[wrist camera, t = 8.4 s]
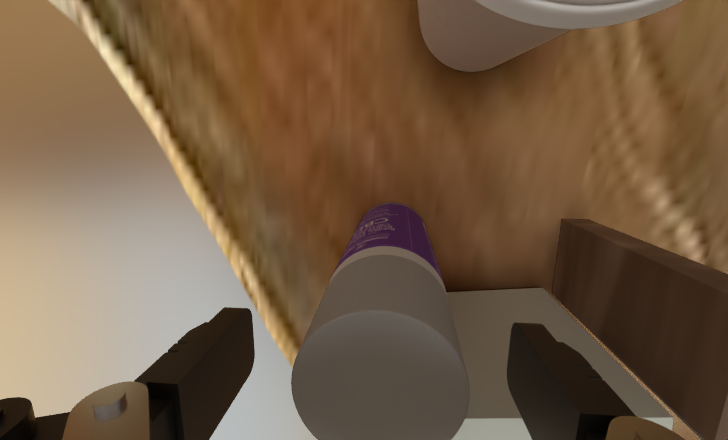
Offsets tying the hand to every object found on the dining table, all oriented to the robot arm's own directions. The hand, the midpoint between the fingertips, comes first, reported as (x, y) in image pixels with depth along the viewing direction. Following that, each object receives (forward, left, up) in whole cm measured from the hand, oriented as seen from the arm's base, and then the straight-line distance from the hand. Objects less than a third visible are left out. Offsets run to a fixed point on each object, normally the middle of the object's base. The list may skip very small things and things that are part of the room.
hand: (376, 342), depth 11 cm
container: (0, 0, -13) cm, 13 cm away
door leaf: (-5, +4, -13) cm, 14 cm away
